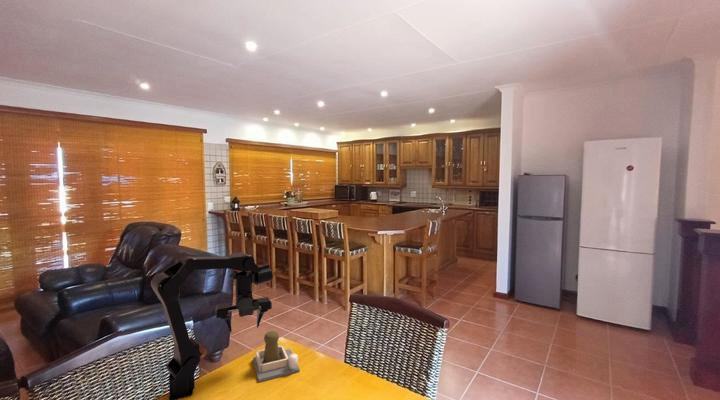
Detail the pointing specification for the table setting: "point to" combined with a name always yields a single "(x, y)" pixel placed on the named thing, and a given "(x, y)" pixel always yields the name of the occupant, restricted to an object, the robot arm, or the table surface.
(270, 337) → the cork
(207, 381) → the table surface
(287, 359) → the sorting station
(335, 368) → the table surface
